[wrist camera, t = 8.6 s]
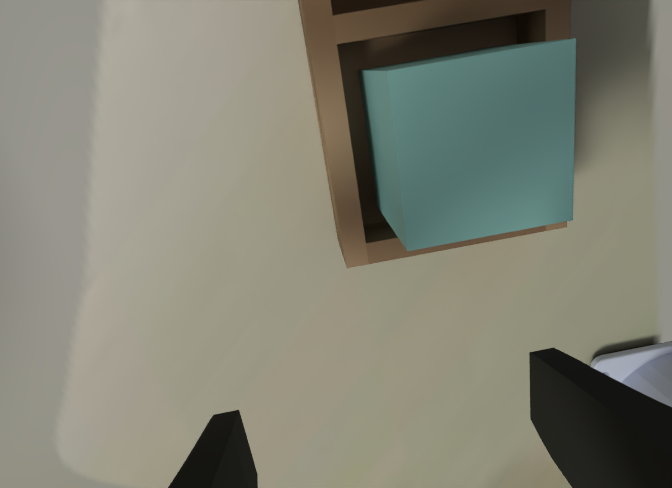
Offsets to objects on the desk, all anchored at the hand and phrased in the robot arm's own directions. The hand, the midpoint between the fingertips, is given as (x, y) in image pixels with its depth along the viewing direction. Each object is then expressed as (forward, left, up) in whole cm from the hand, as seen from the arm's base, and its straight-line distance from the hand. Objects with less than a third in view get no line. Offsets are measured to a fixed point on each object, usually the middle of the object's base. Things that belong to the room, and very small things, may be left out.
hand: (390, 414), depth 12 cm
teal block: (+5, -4, -8) cm, 11 cm away
